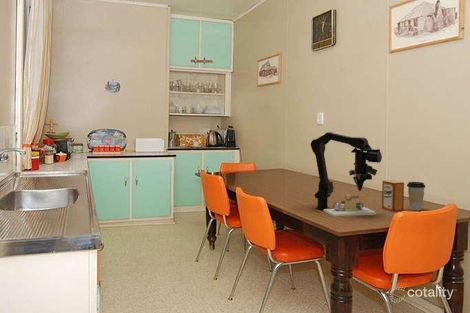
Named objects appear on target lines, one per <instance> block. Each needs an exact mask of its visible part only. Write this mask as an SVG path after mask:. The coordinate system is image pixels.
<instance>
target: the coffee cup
mask: <svg viewBox="0 0 470 313" xmlns="http://www.w3.org/2000/svg"><path fill="white" fill-rule="evenodd" d="M406 187H407V188H408V189H407V190H408V193H407V194H408V203H409V209H410V210H411V211H414V210H418V212H420V211H419V210H421V211H422V210H423V209H422V208H423V202H424V195H425V188H426V184H425V183H424V182H422V181H409V182H408V183H407V184H406Z"/></svg>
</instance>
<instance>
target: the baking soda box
mask: <svg viewBox="0 0 470 313" xmlns="http://www.w3.org/2000/svg"><path fill="white" fill-rule="evenodd" d="M381 183H382V191H381V193H382V194H381V209H384V210H387V211H391V212H403V211H404V198H405V196H404V195H405V181H404V182H403V181H401V180H400V181H399V180H392V179H391V180H389V179H388V180H382V182H381Z"/></svg>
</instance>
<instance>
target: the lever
mask: <svg viewBox="0 0 470 313" xmlns="http://www.w3.org/2000/svg"><path fill="white" fill-rule="evenodd" d="M344 198H345V199H352V200H353V199H359V200H365V199H366V200H367V199H368V195H366V194H358V195H352V194H350V193H349V194H348V193H347V194H345V196H344Z"/></svg>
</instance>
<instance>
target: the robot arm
mask: <svg viewBox="0 0 470 313" xmlns="http://www.w3.org/2000/svg"><path fill="white" fill-rule="evenodd" d="M331 141H334V142H338V143H343V144H345V145H346V144H347V145H349V146H351V147H353V149H352V150H351V151H350V153H352V154H353V153H354V162H353V166H354V169H351V170H350V171H349V172H348V175H349V176H353V177H352V179H353V181H354V183H355V186H356V188H357V191H359V192H361V191H362V189H363V186H364V183H365V182H366V181H368V180H369V181H370V180H373V176H377V172H378V170H377V169H375V168H373V166H372V165H370V164H368V163H377V164H378V163H381V162H382V158H383V156H382V152H381V149H378V148H376V149H373V148H372V147H371V145H370V143H369V140H368V139H367V138H366V137H363V136H362V137H360V136H359V137H356V136H354V137H353V136H352V137H351V136H348V135H343V134H338V133H334V132H332V131H331V132H330V131H329V132H325V133H324V134H323V135H320V136H319V137H318V138H316V139H312V140H311V142H310V147H311V150H312V153H313V155H315V160H316V165H317V173H318V178H319V182H318V190H317V192H315V194H314V198H315V199H317V205H316V206H315V208H316V209H317V210H324V209H331V208H330V207H328V204H329V203H328V199H329V198H330V197H331V195H332V194H333V192H334V189H335V187H334V183H333V181H330V179H329V175H328V171H327V170H328V169H327V163H326V158H325V152H326V145H327V144H329V143H330V142H331ZM367 162H368V163H367Z"/></svg>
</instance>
